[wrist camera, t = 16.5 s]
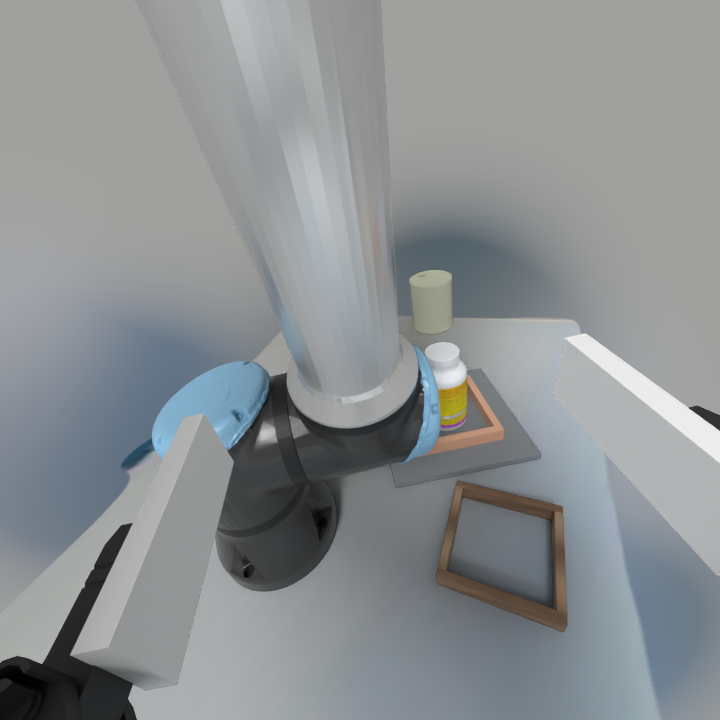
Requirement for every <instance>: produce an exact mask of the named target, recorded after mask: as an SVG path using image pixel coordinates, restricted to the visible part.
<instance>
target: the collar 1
mask: <svg viewBox="0 0 720 720" xmlns="http://www.w3.org/2000/svg"><path fill="white" fill-rule="evenodd" d="M467 392H468V394H469V395H470V397H471V399H472V400H473V402H474V404H475V405H476V407H477V409H478V410H479V412H480V414H481V415H482V417H483V419H484V421H485V422H486V424H487V426H488V428H483V429H478V430H473V431H468V432H463V433H459V434H454V435H449V436H444V437H439V438H438V440H437V442H436V444H435V446H434V447H433V449H432V450H431V451H430V452H428V453H427V454H425V455H423V456H426V455H430V454H435V453H440V452H445V451H450V450H455V449H460V448H465V447H469V446H474V445H479V444H484V443H489V442H494V441H499V440H503V439H504V428H503V427H502V425H501V424H500V422H499V421H498V419H497V417H496V416H495V414H494V413H493V411H492V410H491V408H490V407H489V405H488V403H487V402H486V400H485V399H484V397H483V396H482V394H481V393H480V391H479V389H478V388H477V386H476V385H475V383H474V382H473V380H472V379H471V377H470V375H467ZM419 457H421V456H419Z"/></svg>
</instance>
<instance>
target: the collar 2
mask: <svg viewBox="0 0 720 720" xmlns="http://www.w3.org/2000/svg"><path fill="white" fill-rule="evenodd" d="M463 497H465V498H469V499H472V500H476V501H480V502H484V503H487V504H491V505H495V506H499V507H503V508H506V509H510V510H514V511H518V512H521V513H525V514H529V515H533V516H537V517H540V518H544V519H548V520H552V551H553V609H551V608H548V607H546V606H543V605H540V604H537V603H535V602H532V601H529V600H526V599H524V598H521V597H518V596H515V595H513V594H510V593H507V592H504V591H502V590H499V589H496V588H493V587H491V586H488V585H485V584H482V583H479V582H477V581H474V580H471V579H468V578H466V577H463V576H460V575H457V574H455V573H452V572H449V571H448V567H449V562H450V557H451V552H452V547H453V543H454V538H455V533H456V528H457V523H458V518H459V513H460V508H461V503H462V498H463ZM436 579H437V584H439V585H441V586H444V587H447V588H449V589H452V590H455V591H457V592H460V593H462V594H465V595H468V596H470V597H473V598H475V599H478V600H481V601H483V602H486V603H488V604H491V605H494V606H496V607H499V608H501V609H504V610H507V611H509V612H512V613H514V614H517V615H520V616H522V617H525V618H528V619H530V620H533V621H535V622H538V623H541V624H543V625H546V626H548V627H551V628H554V629H556V630H559V631H561V632H564V631H565V629H566V627H567V625H568V623H567V598H566V574H565V550H564V526H563V507H562V506H558V505H554V504H550V503H546V502H542V501H538V500H534V499H530V498H525V497H521V496H517V495H513V494H509V493H505V492H501V491H497V490H493V489H489V488H485V487H481V486H477V485H473V484H469V483H465V482H461V481H457V485H456V489H455V494H454V498H453V502H452V507H451V511H450V516H449V520H448V525H447V529H446V534H445V538H444V542H443V547H442V551H441V556H440V560H439V565H438V569H437V574H436Z"/></svg>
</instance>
